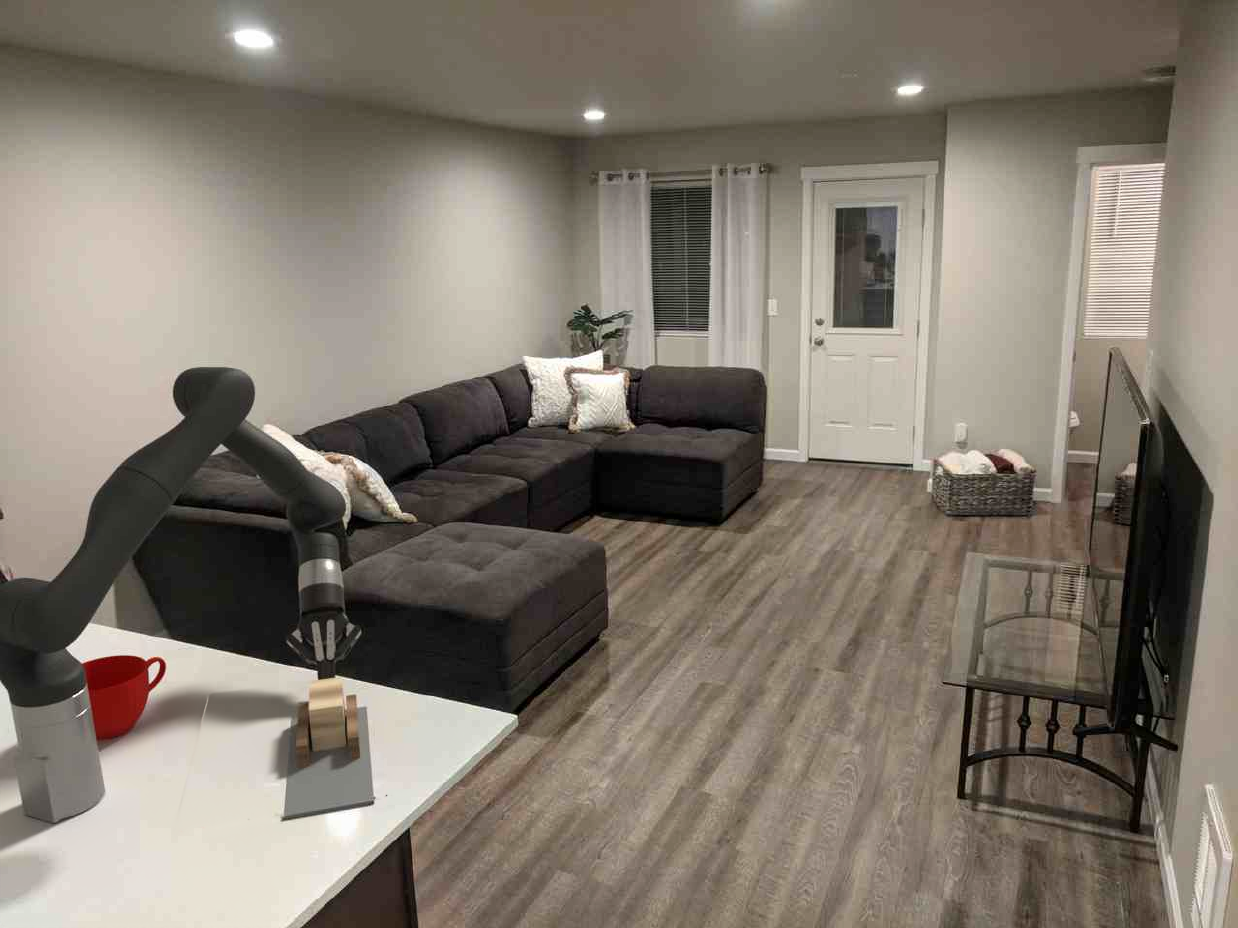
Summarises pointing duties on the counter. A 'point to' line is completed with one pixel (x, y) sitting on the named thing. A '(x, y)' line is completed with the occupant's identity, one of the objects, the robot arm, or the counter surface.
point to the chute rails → (305, 731)
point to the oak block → (327, 714)
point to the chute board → (329, 776)
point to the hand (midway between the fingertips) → (327, 683)
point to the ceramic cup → (119, 691)
